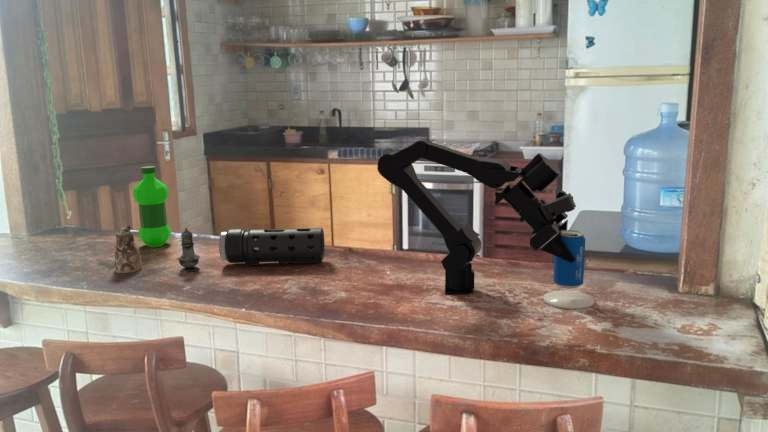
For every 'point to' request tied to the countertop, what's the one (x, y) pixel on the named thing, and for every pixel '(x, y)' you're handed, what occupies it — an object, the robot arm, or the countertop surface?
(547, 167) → the robot arm
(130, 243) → the figurine
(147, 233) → the plastic bottle
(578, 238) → the beverage can
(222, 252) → the muzzle brake
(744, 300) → the countertop surface
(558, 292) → the white round disc
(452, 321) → the countertop surface
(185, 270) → the salt shaker
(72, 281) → the countertop surface
